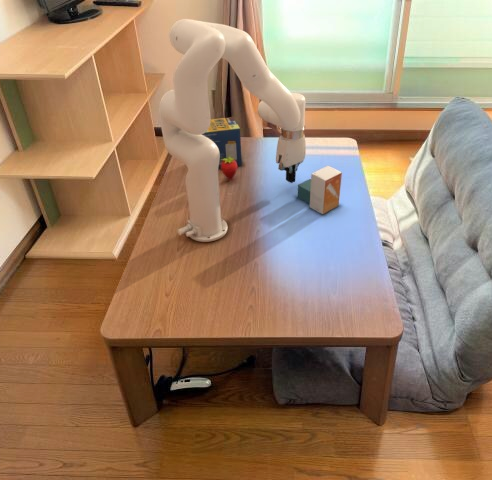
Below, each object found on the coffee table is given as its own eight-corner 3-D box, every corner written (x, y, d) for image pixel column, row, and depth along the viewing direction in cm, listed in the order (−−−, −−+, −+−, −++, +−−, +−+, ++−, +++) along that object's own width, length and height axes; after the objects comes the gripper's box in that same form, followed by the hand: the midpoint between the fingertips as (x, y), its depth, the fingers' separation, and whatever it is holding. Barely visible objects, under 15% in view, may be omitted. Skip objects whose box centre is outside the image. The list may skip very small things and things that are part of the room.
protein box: (197, 158, 190) (193, 121, 180) (236, 153, 193) (234, 116, 184) (202, 171, 182) (198, 133, 172) (242, 165, 186) (240, 127, 176)
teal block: (309, 204, 165) (310, 191, 162) (297, 197, 169) (297, 184, 166) (321, 197, 169) (322, 185, 165) (309, 191, 172) (310, 178, 169)
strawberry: (221, 185, 174) (219, 160, 168) (222, 174, 180) (220, 150, 174) (238, 184, 175) (236, 159, 168) (238, 174, 181) (237, 149, 174)
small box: (323, 215, 160) (325, 180, 152) (309, 207, 164) (310, 173, 156) (339, 205, 165) (342, 172, 157) (325, 198, 168) (327, 164, 160)
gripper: (301, 122, 167) (298, 170, 178) (267, 134, 158) (267, 183, 169) (316, 130, 162) (313, 178, 173) (283, 142, 154) (281, 192, 165)
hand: (290, 180), depth 171 cm, fingers closed
